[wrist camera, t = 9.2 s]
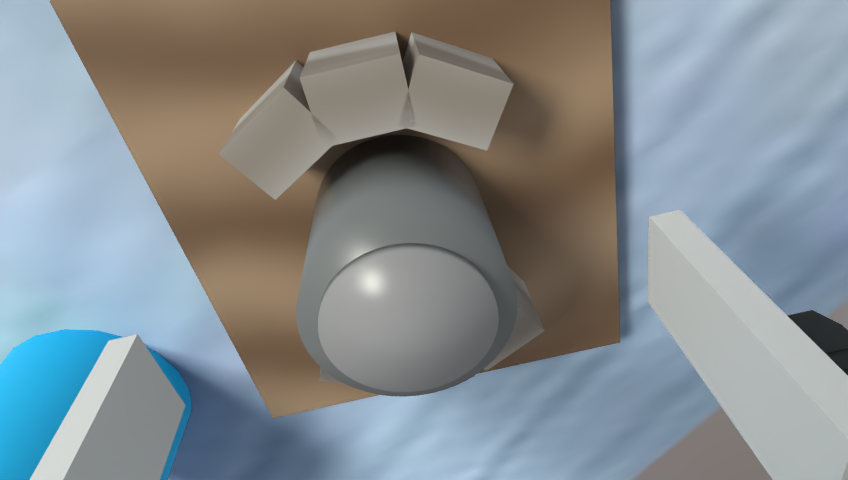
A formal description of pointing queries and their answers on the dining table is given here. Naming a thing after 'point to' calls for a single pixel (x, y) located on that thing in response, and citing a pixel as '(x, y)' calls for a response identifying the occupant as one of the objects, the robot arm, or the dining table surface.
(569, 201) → the board
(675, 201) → the dining table surface
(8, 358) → the mug
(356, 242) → the cap
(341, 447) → the dining table surface
